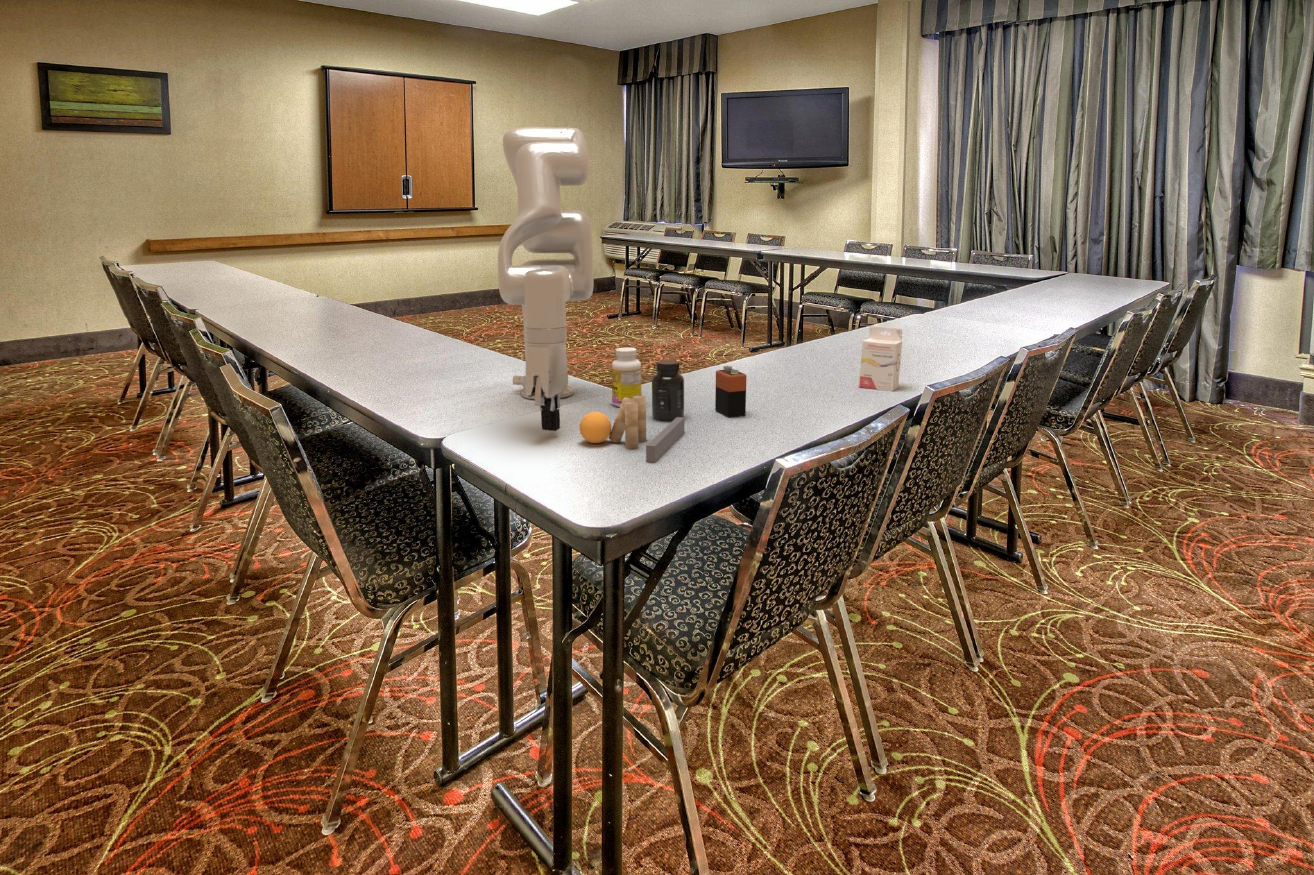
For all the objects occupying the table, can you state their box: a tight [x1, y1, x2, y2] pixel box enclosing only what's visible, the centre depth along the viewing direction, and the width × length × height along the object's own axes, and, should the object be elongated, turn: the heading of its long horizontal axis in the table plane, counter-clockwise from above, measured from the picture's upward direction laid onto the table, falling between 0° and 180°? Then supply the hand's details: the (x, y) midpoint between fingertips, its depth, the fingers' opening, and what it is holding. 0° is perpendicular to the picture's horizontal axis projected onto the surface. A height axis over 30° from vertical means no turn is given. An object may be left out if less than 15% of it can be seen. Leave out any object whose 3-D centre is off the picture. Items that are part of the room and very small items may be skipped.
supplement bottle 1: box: [611, 347, 643, 408], centre depth 176 cm, size 7×7×13 cm
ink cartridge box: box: [858, 325, 903, 392], centre depth 190 cm, size 9×5×15 cm, turn 58°
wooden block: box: [608, 397, 635, 444], centre depth 148 cm, size 2×2×8 cm
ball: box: [579, 411, 612, 444], centre depth 148 cm, size 6×6×6 cm
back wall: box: [645, 417, 685, 463], centre depth 146 cm, size 2×20×3 cm, turn 163°
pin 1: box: [624, 402, 639, 450], centre depth 145 cm, size 2×2×8 cm
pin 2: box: [633, 395, 647, 443], centre depth 150 cm, size 2×2×8 cm
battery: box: [714, 365, 747, 418], centre depth 168 cm, size 4×7×10 cm, turn 21°
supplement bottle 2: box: [651, 359, 685, 422], centre depth 165 cm, size 7×7×12 cm
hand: (551, 429), depth 153 cm, fingers closed
